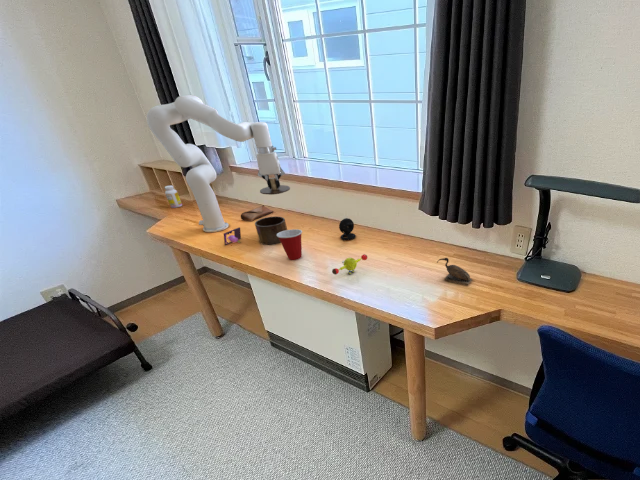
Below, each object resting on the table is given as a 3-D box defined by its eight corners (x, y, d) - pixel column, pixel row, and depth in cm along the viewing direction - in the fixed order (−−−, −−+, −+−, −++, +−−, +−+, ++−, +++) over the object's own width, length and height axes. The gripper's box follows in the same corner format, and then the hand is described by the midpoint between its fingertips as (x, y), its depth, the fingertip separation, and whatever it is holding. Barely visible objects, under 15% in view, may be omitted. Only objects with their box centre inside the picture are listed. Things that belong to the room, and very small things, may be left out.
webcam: (345, 242, 175) (342, 222, 170) (337, 237, 180) (334, 218, 175) (358, 237, 179) (356, 218, 174) (351, 233, 184) (348, 214, 179)
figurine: (434, 278, 142) (434, 258, 138) (439, 273, 146) (439, 253, 141) (468, 285, 137) (469, 265, 132) (472, 280, 140) (473, 260, 135)
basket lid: (257, 196, 180) (253, 183, 176) (264, 188, 192) (260, 175, 189) (287, 194, 181) (284, 180, 178) (292, 186, 194) (289, 173, 190)
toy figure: (362, 263, 155) (360, 248, 152) (371, 266, 152) (370, 252, 149) (329, 279, 144) (326, 264, 140) (338, 283, 141) (336, 268, 137)
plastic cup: (306, 250, 168) (300, 226, 162) (308, 259, 160) (303, 234, 153) (281, 254, 165) (275, 229, 159) (283, 264, 157) (276, 238, 150)
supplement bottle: (181, 204, 235) (173, 184, 228) (183, 206, 231) (175, 186, 224) (170, 206, 232) (161, 186, 225) (171, 208, 227) (163, 188, 220)
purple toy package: (238, 226, 178) (222, 232, 172) (246, 231, 177) (230, 237, 171) (239, 237, 183) (223, 244, 176) (246, 242, 182) (231, 249, 175)
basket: (257, 246, 174) (251, 227, 169) (263, 235, 186) (258, 217, 180) (286, 243, 175) (281, 225, 170) (291, 233, 187) (286, 215, 182)
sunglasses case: (252, 221, 202) (244, 210, 201) (246, 225, 206) (238, 215, 205) (275, 211, 216) (268, 201, 214) (269, 215, 220) (262, 206, 218)
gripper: (283, 147, 180) (292, 185, 190) (250, 149, 178) (260, 187, 188) (281, 150, 174) (289, 188, 184) (246, 152, 172) (256, 191, 182)
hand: (274, 187), depth 186 cm, fingers closed on basket lid, 3 cm apart
